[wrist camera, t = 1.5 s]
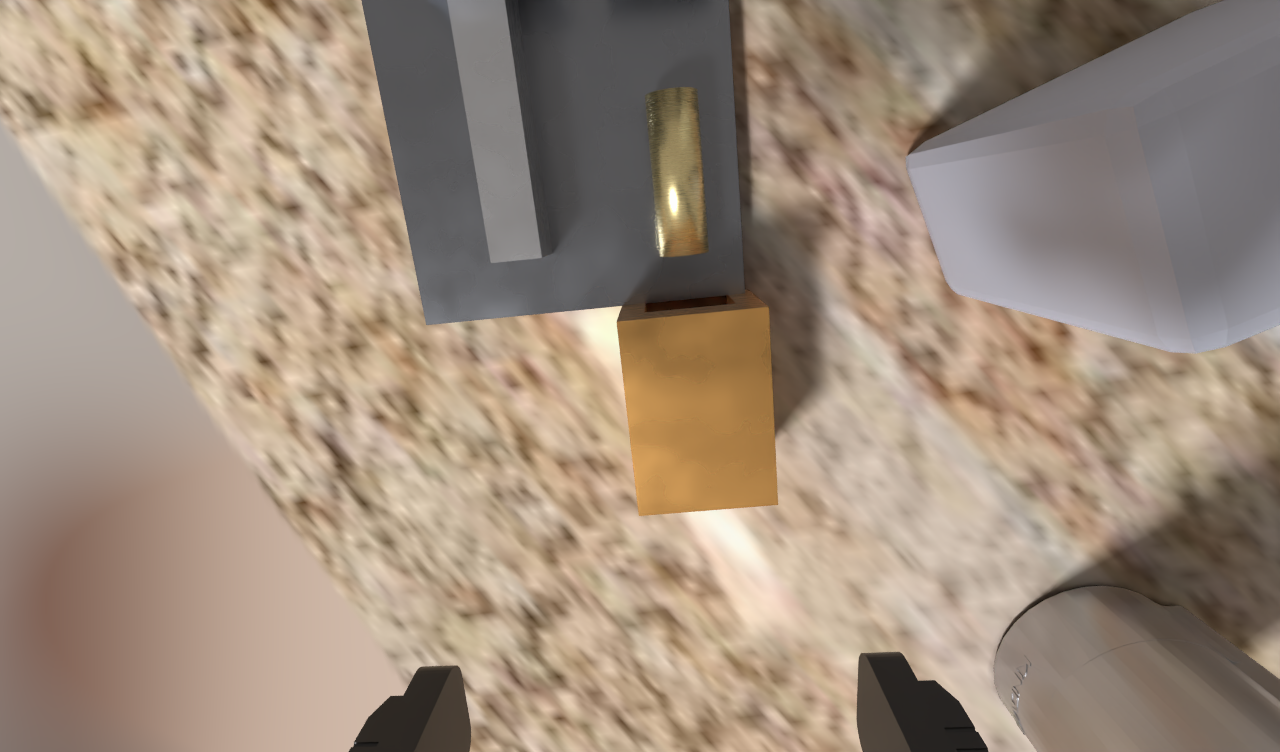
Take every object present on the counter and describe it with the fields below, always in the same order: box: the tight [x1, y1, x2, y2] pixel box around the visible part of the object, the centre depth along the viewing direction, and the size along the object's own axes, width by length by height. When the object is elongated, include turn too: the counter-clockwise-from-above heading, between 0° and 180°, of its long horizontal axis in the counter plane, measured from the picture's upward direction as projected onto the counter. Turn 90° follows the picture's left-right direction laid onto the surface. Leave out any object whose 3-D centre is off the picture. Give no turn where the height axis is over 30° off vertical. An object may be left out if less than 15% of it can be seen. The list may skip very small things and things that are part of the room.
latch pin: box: [645, 87, 709, 257], centre depth 23 cm, size 2×6×2 cm, turn 6°
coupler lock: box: [617, 290, 778, 516], centre depth 25 cm, size 6×8×5 cm
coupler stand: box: [362, 0, 745, 325], centre depth 21 cm, size 14×16×7 cm
